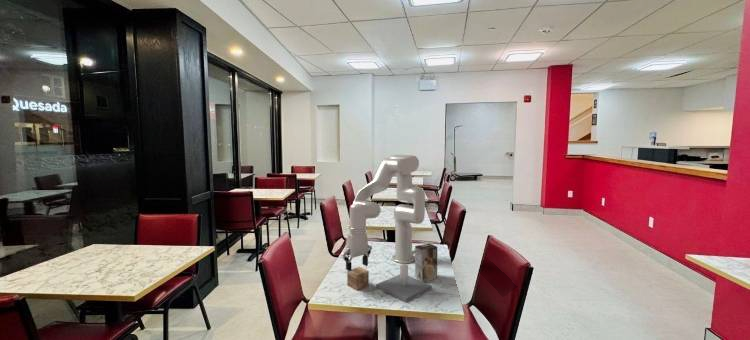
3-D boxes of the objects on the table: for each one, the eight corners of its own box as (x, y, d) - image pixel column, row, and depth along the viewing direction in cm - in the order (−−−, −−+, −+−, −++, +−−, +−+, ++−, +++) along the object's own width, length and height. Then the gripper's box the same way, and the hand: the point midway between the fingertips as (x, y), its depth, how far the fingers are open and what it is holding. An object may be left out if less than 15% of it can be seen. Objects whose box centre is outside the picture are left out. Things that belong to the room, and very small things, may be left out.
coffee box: (429, 273, 157) (430, 242, 156) (437, 278, 151) (438, 246, 150) (414, 277, 153) (414, 245, 152) (422, 282, 147) (422, 249, 146)
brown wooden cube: (359, 280, 149) (359, 266, 148) (368, 285, 144) (368, 271, 143) (347, 285, 144) (347, 270, 143) (356, 290, 139) (356, 275, 138)
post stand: (402, 276, 154) (402, 255, 153) (432, 288, 141) (432, 266, 140) (376, 287, 142) (376, 265, 141) (405, 302, 129) (405, 277, 128)
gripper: (366, 226, 150) (366, 261, 151) (337, 232, 138) (336, 269, 139) (377, 229, 145) (376, 265, 146) (347, 236, 133) (347, 275, 134)
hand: (357, 267), depth 143 cm, fingers open, 9 cm apart
